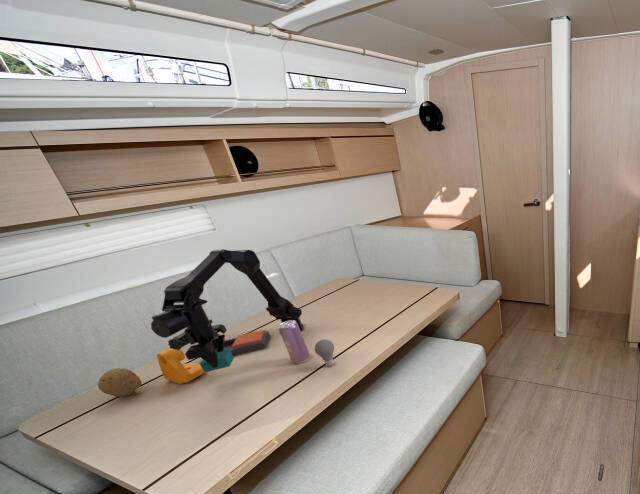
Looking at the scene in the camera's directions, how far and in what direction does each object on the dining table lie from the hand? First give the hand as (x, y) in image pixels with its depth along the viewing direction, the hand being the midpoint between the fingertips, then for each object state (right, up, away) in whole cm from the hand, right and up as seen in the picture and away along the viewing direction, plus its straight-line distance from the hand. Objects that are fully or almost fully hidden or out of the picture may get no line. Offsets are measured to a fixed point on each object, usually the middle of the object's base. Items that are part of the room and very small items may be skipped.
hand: (218, 362), depth 118 cm
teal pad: (0, -1, 0) cm, 1 cm away
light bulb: (+35, -2, +6) cm, 35 cm away
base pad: (-7, +4, +24) cm, 25 cm away
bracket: (-16, -6, +7) cm, 19 cm away
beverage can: (+21, -1, +11) cm, 24 cm away
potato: (-30, -11, -1) cm, 32 cm away
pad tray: (-10, +2, +23) cm, 25 cm away
